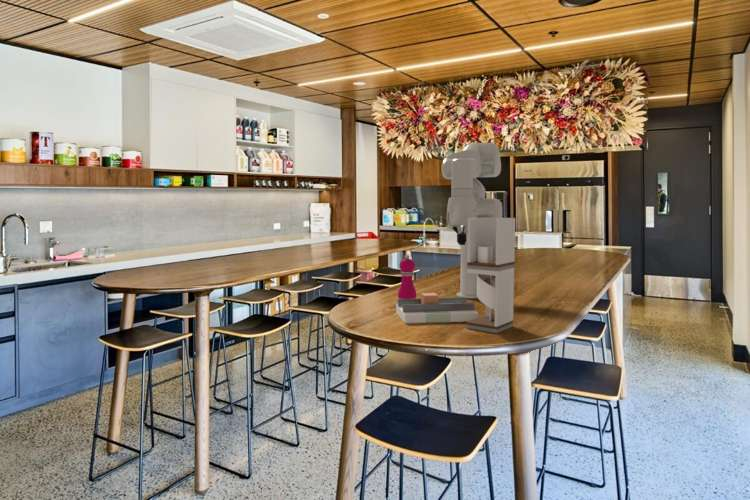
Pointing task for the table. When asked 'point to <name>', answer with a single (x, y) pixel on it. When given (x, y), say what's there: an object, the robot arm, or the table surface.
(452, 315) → the channel deck
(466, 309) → the channel walls
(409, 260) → the pepper mill
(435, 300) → the terracotta block
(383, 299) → the table surface
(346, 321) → the table surface
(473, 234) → the display case
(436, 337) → the table surface
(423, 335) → the table surface
